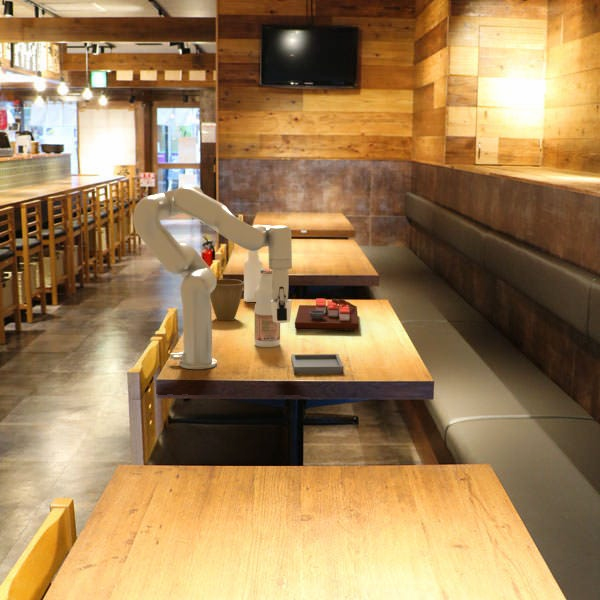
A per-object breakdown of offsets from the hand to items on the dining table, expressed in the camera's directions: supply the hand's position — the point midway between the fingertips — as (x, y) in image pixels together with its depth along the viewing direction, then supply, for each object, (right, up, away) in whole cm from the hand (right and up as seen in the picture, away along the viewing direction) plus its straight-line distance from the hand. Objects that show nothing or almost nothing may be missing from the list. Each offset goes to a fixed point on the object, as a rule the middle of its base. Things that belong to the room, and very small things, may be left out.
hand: (281, 317), depth 273 cm
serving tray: (+12, -17, +4) cm, 21 cm away
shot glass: (0, -1, 0) cm, 1 cm away
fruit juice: (-6, -11, +35) cm, 37 cm away
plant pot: (-25, -2, +77) cm, 82 cm away
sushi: (+17, -5, +70) cm, 73 cm away
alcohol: (-16, +5, +116) cm, 117 cm away
